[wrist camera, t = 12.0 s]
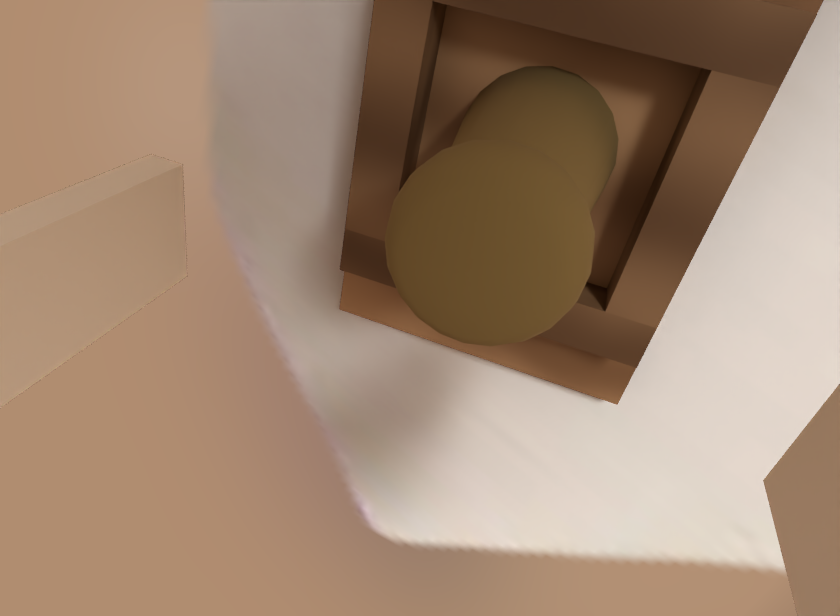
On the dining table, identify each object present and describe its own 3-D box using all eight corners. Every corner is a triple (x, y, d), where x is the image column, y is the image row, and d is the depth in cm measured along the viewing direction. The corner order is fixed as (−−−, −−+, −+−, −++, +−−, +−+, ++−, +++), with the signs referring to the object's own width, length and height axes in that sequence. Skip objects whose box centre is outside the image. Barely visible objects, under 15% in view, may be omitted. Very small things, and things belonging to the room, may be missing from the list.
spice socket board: (419, -209, 19) (387, -236, 16) (875, -123, 17) (918, -138, 14) (347, 299, 30) (321, 329, 27) (617, 391, 28) (616, 433, 25)
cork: (434, 179, 24) (318, 308, 15) (503, 33, 21) (405, 88, 12) (563, 249, 24) (523, 422, 15) (653, 115, 20) (673, 234, 11)
